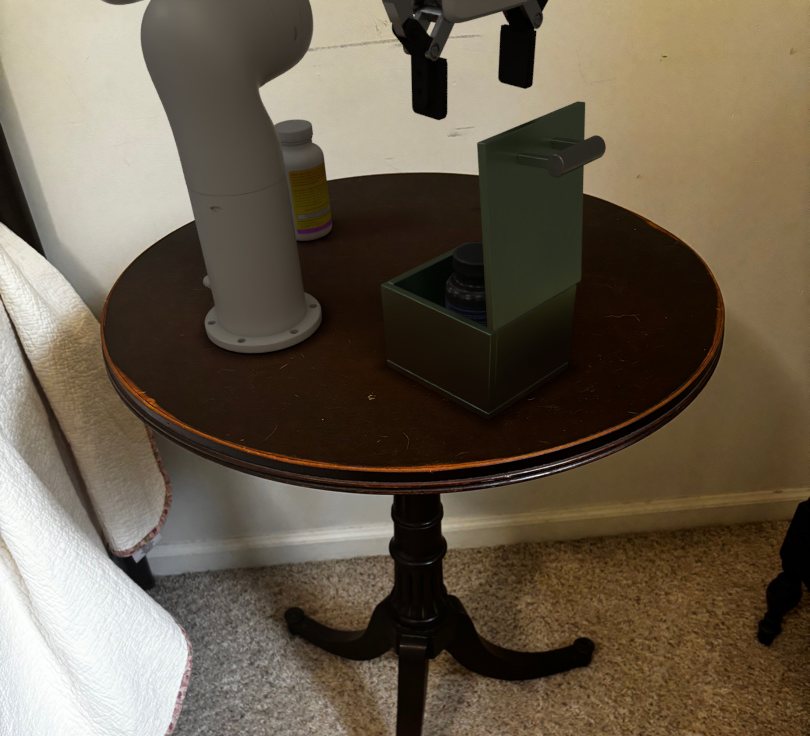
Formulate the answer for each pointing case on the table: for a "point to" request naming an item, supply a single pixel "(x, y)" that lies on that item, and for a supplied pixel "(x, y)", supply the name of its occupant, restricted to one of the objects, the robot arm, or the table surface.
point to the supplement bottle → (305, 180)
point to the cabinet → (472, 342)
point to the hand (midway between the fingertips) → (473, 99)
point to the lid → (533, 210)
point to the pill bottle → (467, 283)
